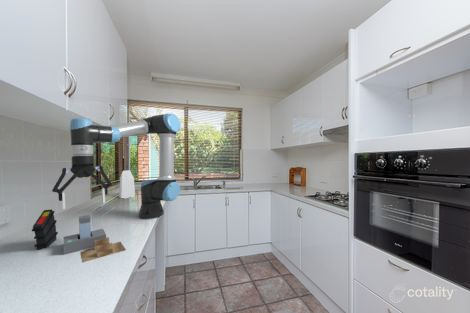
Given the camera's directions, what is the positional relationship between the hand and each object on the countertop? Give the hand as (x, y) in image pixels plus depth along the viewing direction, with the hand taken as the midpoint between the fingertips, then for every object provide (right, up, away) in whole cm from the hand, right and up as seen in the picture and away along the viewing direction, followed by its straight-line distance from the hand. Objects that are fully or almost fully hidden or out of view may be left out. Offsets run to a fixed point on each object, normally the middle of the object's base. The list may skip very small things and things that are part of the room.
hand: (84, 205), depth 87 cm
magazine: (-19, -19, +3) cm, 27 cm away
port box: (0, -18, 0) cm, 18 cm away
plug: (0, -17, 0) cm, 17 cm away
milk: (-42, -19, +113) cm, 122 cm away
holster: (+12, -18, -6) cm, 22 cm away
